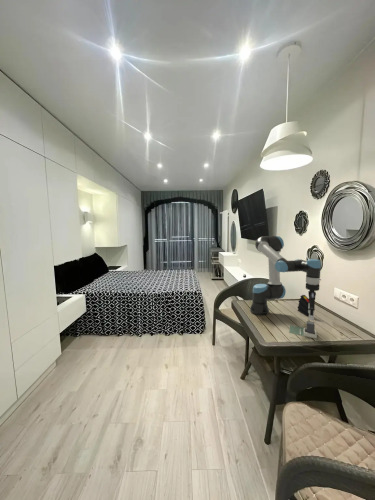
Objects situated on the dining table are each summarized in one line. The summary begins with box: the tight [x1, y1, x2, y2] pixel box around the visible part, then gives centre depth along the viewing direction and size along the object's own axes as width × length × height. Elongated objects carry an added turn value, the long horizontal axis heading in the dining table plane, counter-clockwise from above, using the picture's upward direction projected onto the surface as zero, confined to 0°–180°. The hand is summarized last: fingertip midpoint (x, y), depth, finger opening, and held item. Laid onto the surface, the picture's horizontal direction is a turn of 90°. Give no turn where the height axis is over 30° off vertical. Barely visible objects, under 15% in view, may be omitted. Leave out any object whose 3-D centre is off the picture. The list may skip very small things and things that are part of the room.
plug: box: [305, 320, 316, 334], centre depth 131 cm, size 4×4×8 cm
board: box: [288, 324, 318, 340], centre depth 136 cm, size 16×12×3 cm
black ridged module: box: [297, 294, 309, 317], centre depth 166 cm, size 4×13×15 cm, turn 10°
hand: (310, 316), depth 131 cm, fingers open, 10 cm apart
